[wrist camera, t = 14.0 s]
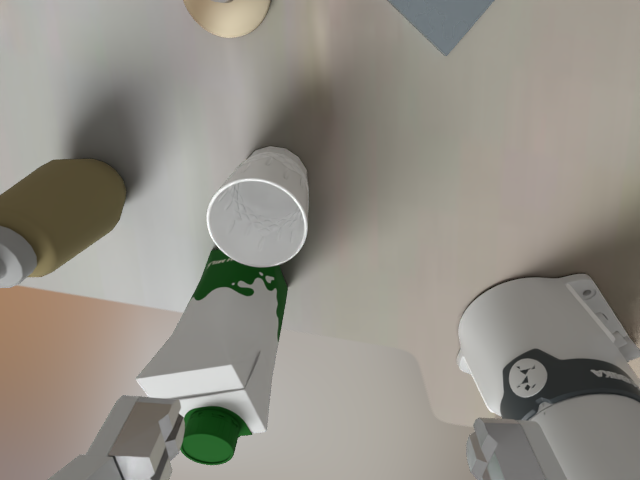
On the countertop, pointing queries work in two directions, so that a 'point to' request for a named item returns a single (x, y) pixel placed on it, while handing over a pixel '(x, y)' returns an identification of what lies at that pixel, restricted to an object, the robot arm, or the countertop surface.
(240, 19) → the stand
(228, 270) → the milk carton
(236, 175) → the white cup
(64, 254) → the squeeze bottle
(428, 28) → the grey plate with knob
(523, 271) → the countertop surface
